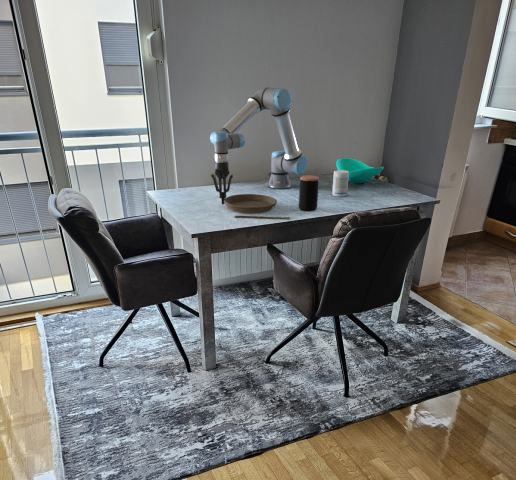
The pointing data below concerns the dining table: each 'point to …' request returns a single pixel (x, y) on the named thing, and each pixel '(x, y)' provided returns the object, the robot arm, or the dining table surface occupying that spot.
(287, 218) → the walnut ruler
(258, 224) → the dining table surface
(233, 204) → the plant saucer
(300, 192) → the coffee jar
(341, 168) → the table top decor
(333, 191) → the supplement tub
